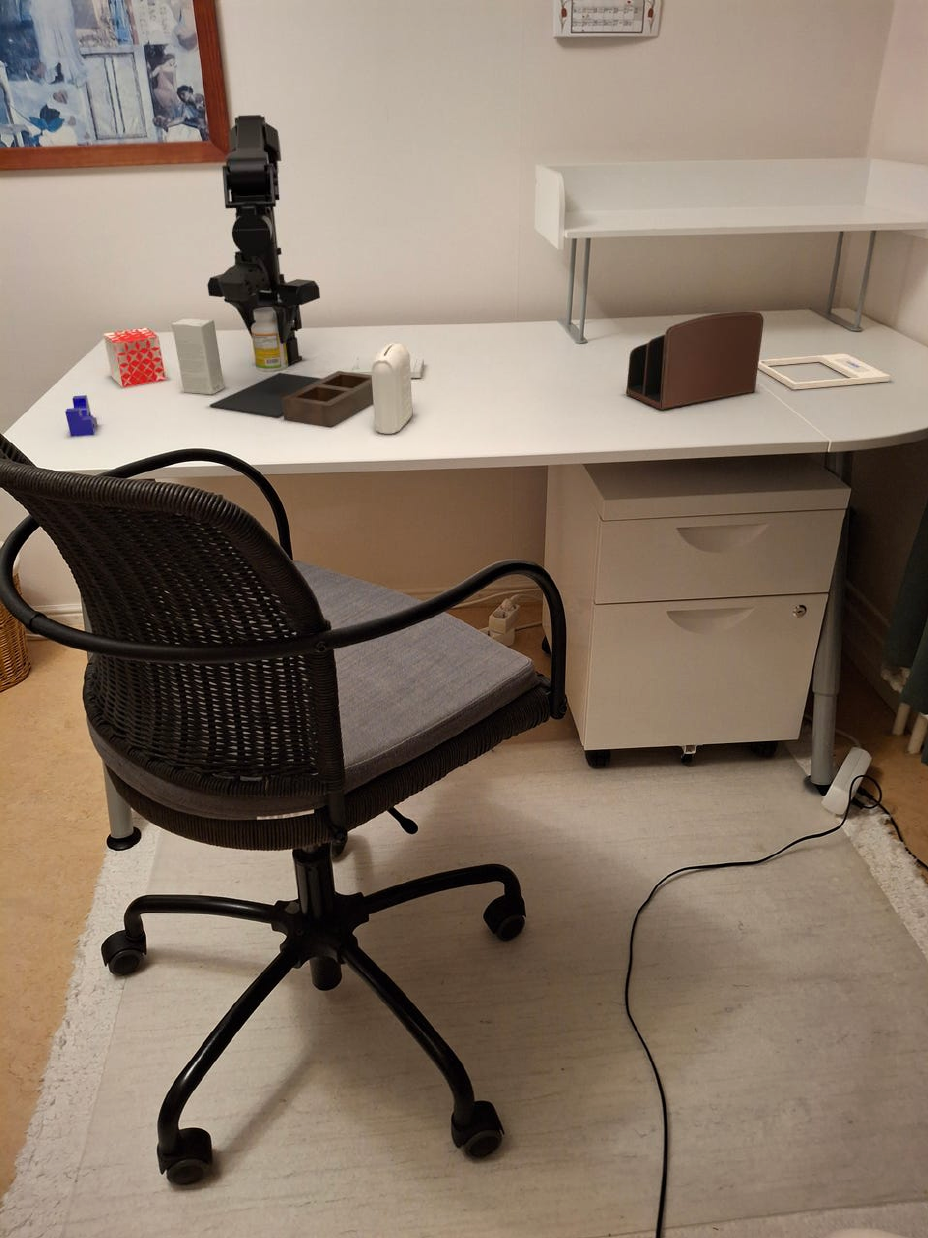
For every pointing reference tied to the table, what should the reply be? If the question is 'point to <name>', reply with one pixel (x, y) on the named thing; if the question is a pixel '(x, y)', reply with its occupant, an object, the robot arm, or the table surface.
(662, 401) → the letter holder
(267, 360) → the supplement bottle
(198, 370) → the cosmetic box
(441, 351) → the table surface
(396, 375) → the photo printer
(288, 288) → the robot arm
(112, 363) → the puzzle cube
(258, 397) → the desk mat
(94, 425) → the cable holder
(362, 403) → the bottle holder
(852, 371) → the photo frame
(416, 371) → the hard drive
